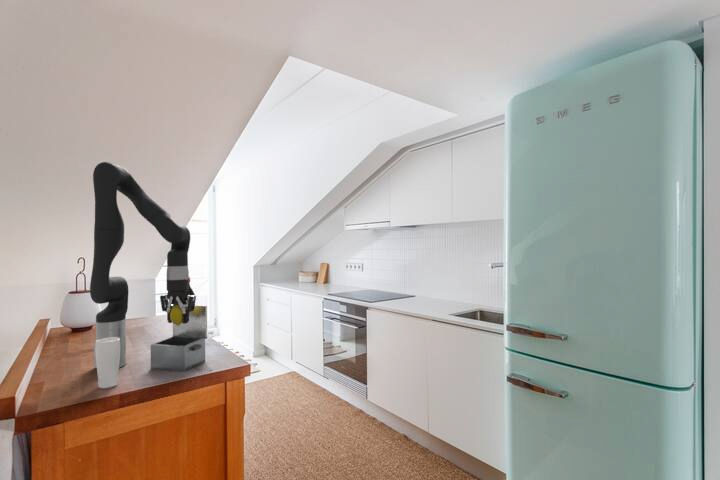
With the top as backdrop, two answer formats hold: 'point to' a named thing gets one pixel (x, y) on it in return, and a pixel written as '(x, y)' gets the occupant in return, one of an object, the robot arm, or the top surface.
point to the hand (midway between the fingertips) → (178, 322)
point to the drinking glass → (107, 361)
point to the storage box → (177, 353)
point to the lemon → (176, 315)
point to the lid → (193, 324)
